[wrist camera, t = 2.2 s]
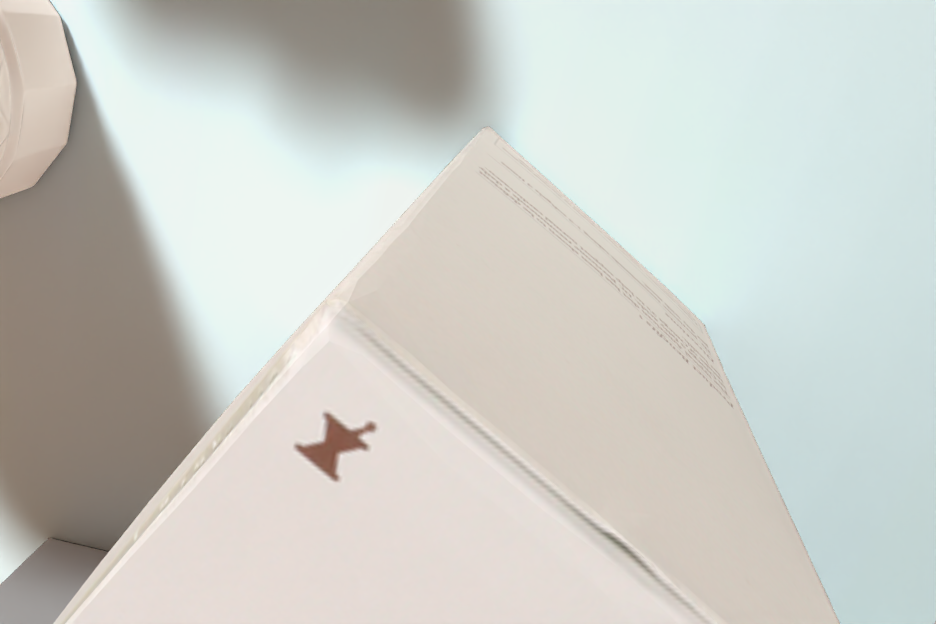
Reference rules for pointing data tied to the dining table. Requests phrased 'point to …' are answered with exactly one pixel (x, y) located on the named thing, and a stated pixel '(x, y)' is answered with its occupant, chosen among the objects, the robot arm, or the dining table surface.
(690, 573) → the supplement box
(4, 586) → the low wall
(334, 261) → the dining table surface
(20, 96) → the white cup
